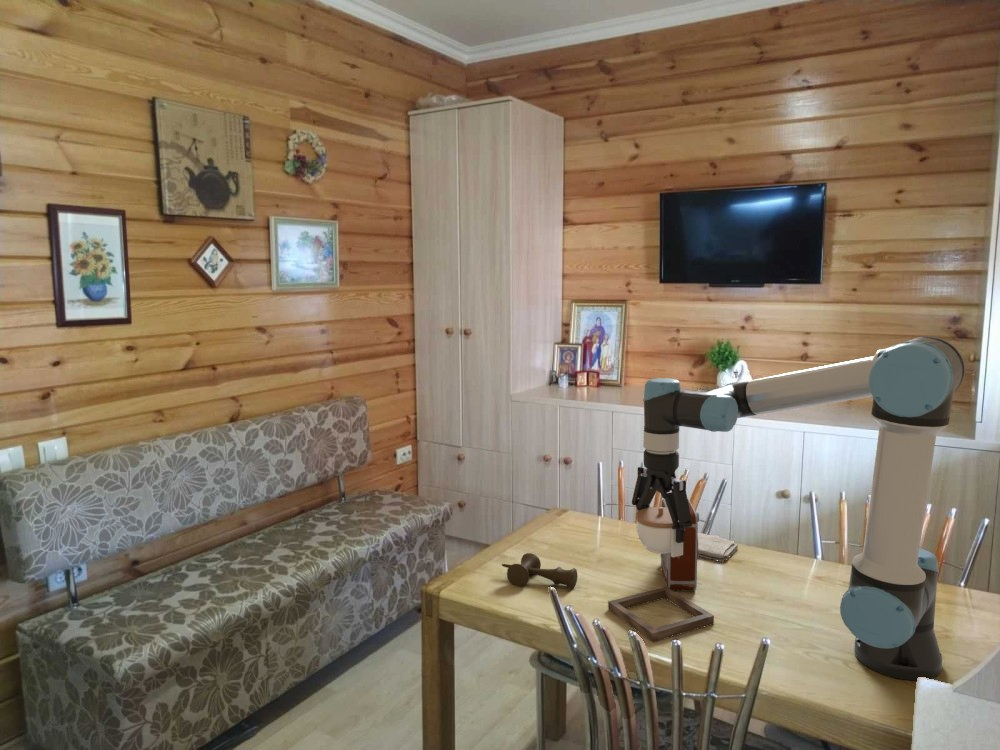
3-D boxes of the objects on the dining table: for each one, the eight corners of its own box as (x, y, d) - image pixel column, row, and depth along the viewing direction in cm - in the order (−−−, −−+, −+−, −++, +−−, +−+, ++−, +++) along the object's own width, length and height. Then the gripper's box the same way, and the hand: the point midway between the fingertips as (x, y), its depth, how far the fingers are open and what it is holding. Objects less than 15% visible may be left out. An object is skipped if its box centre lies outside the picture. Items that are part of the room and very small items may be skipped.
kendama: (568, 598, 173) (493, 583, 181) (581, 583, 182) (509, 569, 190) (569, 575, 172) (493, 560, 180) (582, 560, 181) (509, 547, 189)
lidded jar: (633, 555, 156) (633, 514, 155) (638, 537, 166) (638, 498, 165) (684, 560, 153) (684, 518, 151) (686, 541, 163) (687, 501, 162)
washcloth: (726, 565, 190) (726, 553, 189) (661, 551, 200) (661, 540, 199) (739, 550, 199) (739, 539, 199) (677, 537, 209) (677, 527, 209)
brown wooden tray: (713, 624, 158) (713, 615, 158) (652, 642, 151) (652, 633, 151) (665, 594, 173) (666, 586, 172) (608, 609, 166) (608, 601, 165)
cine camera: (689, 561, 191) (690, 488, 188) (702, 594, 172) (703, 513, 169) (654, 560, 192) (654, 488, 189) (663, 593, 173) (663, 513, 170)
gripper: (711, 459, 147) (709, 562, 151) (642, 436, 168) (642, 527, 171) (682, 464, 144) (680, 569, 147) (616, 440, 165) (616, 532, 168)
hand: (660, 546), depth 159 cm, fingers closed on lidded jar, 11 cm apart
